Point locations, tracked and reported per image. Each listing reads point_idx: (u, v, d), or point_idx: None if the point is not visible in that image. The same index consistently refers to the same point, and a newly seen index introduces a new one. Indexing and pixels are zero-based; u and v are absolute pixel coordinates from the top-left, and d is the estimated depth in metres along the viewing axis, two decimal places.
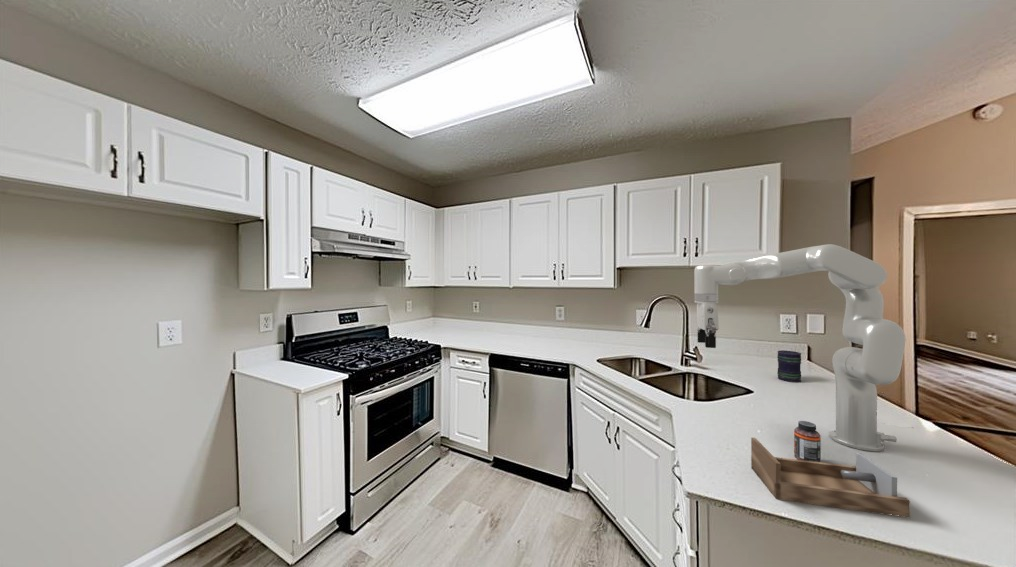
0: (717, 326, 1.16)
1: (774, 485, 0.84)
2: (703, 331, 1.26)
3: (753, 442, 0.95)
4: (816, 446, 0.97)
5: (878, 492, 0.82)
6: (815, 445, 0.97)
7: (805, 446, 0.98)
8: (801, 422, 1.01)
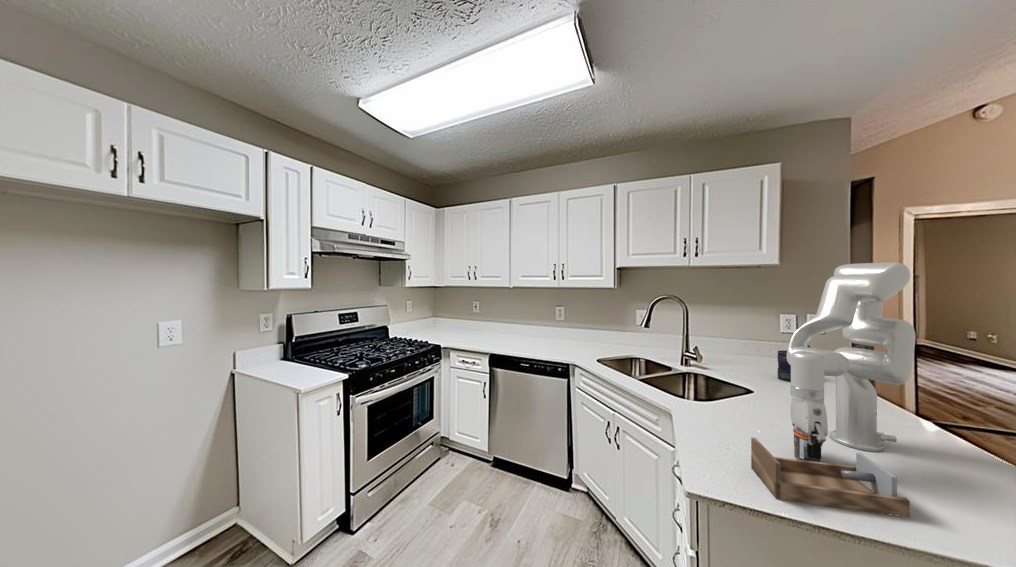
0: (826, 432, 0.95)
1: (774, 485, 0.84)
2: None
3: (753, 442, 0.95)
4: None
5: (878, 492, 0.82)
6: None
7: (805, 446, 0.98)
8: None
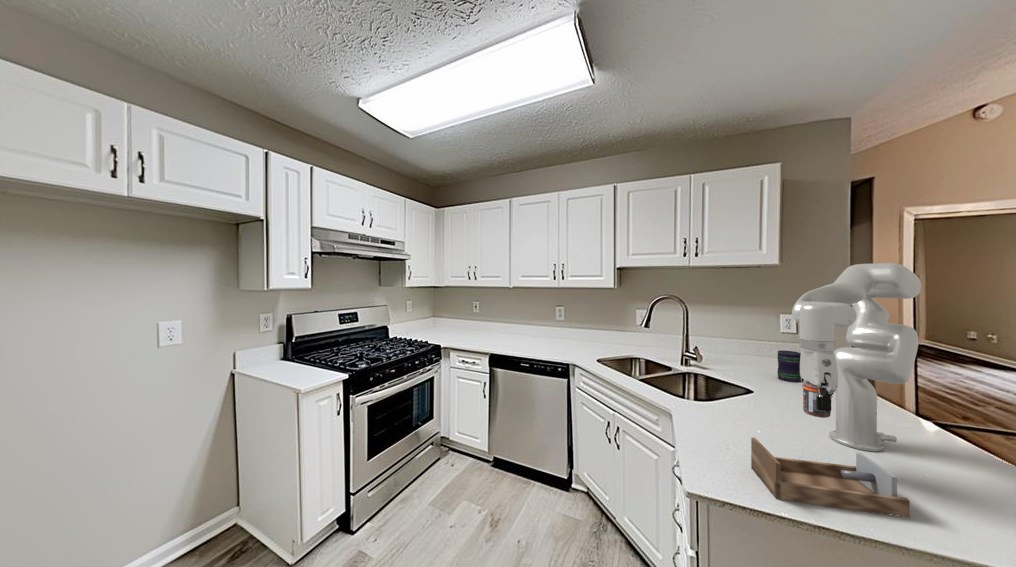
0: (836, 383, 0.93)
1: (774, 485, 0.84)
2: None
3: (753, 442, 0.95)
4: None
5: (878, 492, 0.82)
6: None
7: (814, 399, 0.96)
8: None
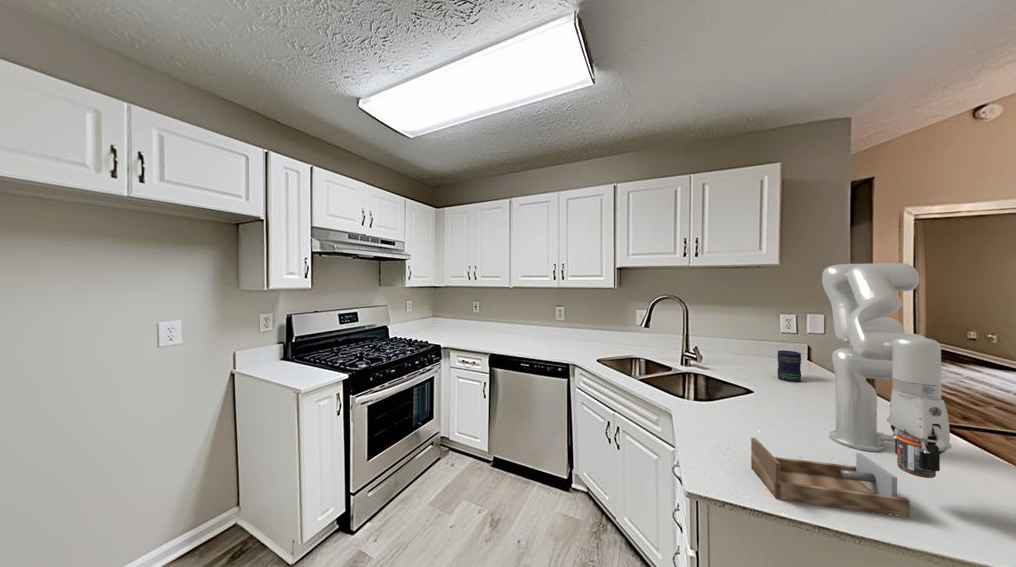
0: (948, 437, 0.75)
1: (774, 485, 0.84)
2: None
3: (753, 442, 0.95)
4: None
5: (878, 492, 0.82)
6: None
7: (915, 455, 0.79)
8: None
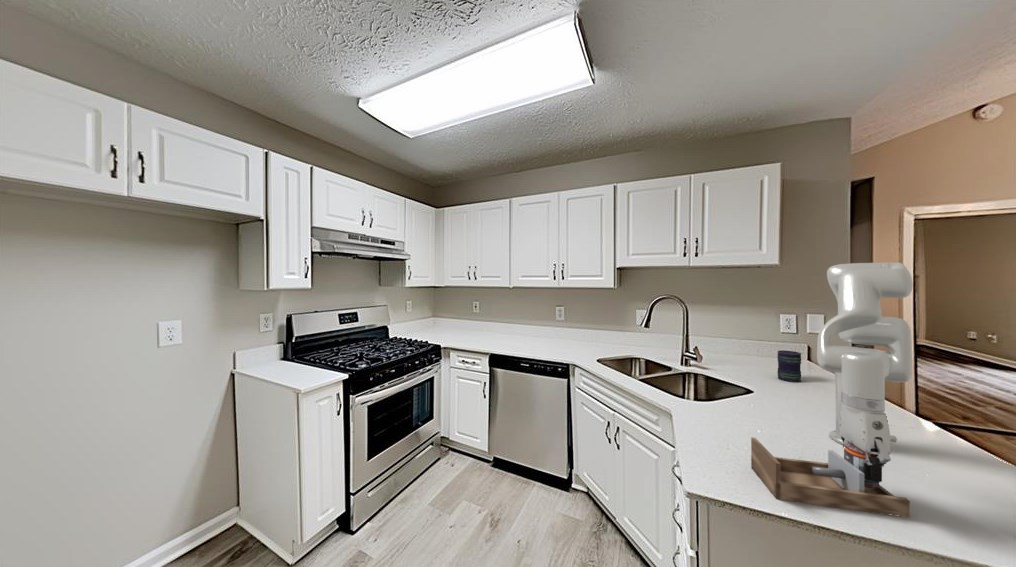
0: (889, 450, 0.78)
1: (774, 485, 0.84)
2: None
3: (753, 442, 0.95)
4: None
5: (847, 488, 0.83)
6: None
7: (860, 466, 0.82)
8: None
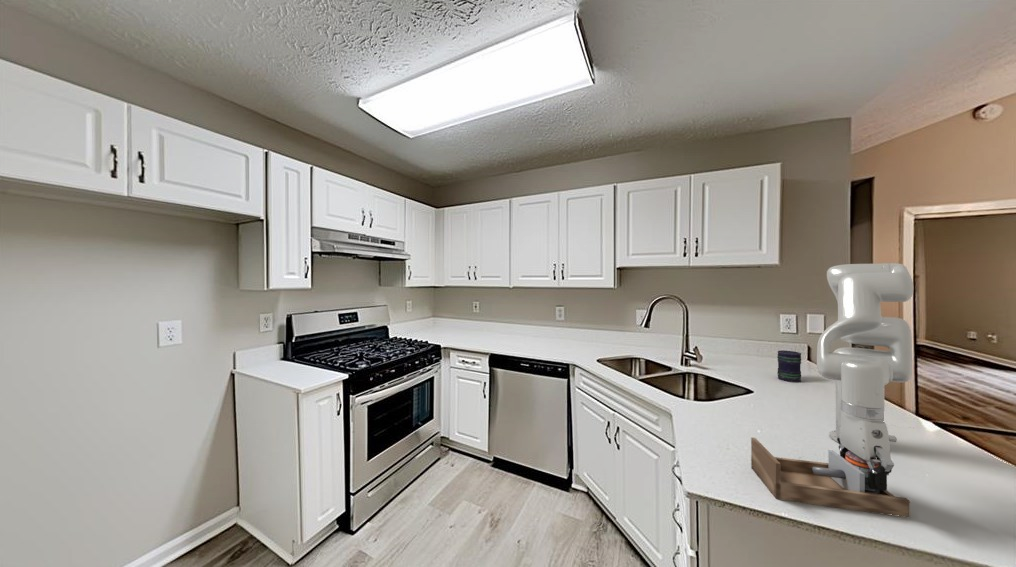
0: None
1: (774, 485, 0.84)
2: None
3: (753, 442, 0.95)
4: None
5: (847, 488, 0.83)
6: None
7: None
8: None
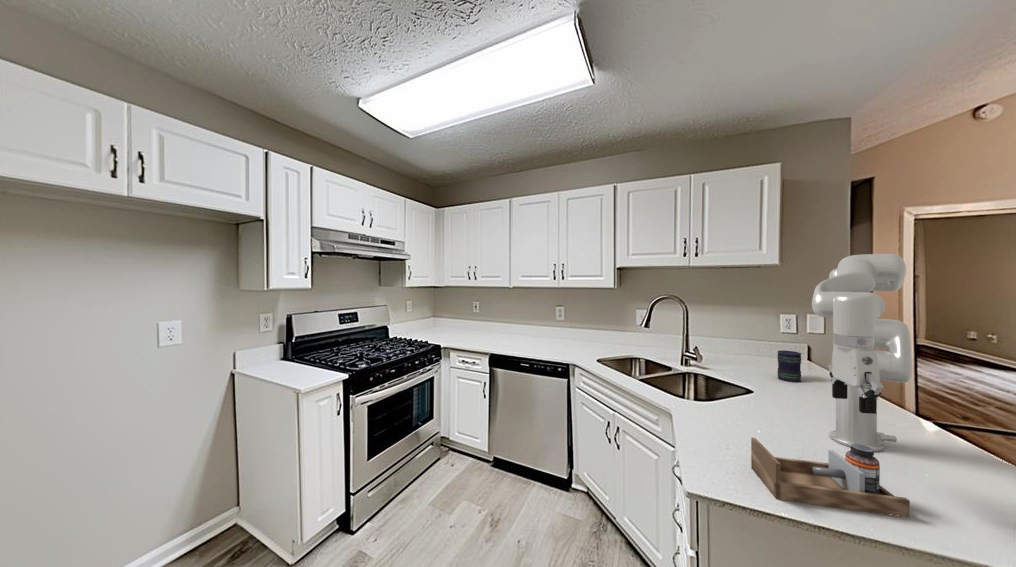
0: None
1: (774, 485, 0.84)
2: (841, 383, 0.92)
3: (753, 442, 0.95)
4: (875, 475, 0.81)
5: (847, 488, 0.83)
6: (874, 474, 0.81)
7: None
8: (855, 445, 0.84)
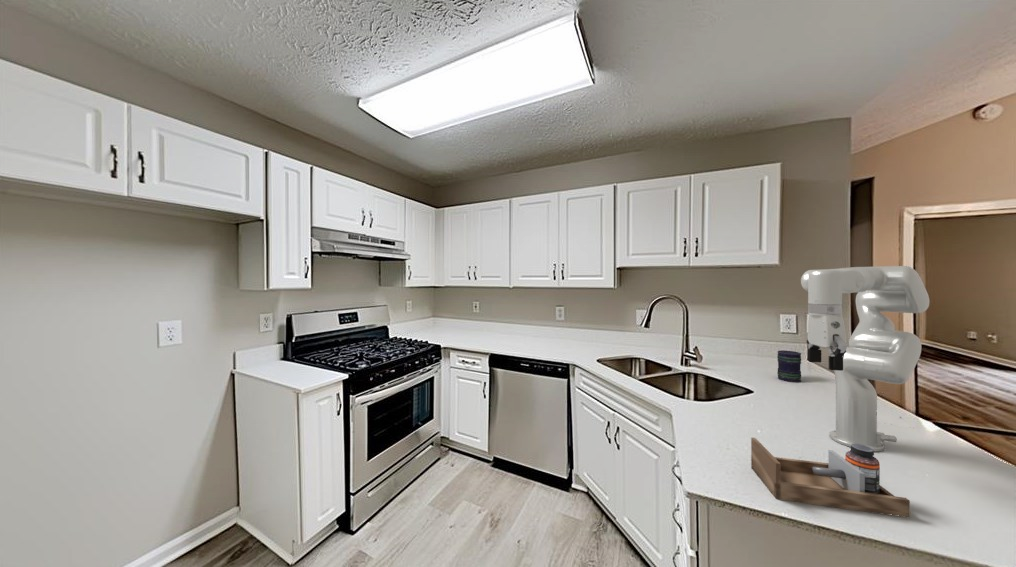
0: None
1: (774, 485, 0.84)
2: (816, 348, 1.05)
3: (753, 442, 0.95)
4: (875, 475, 0.81)
5: (847, 488, 0.83)
6: (874, 474, 0.81)
7: None
8: (855, 445, 0.84)
